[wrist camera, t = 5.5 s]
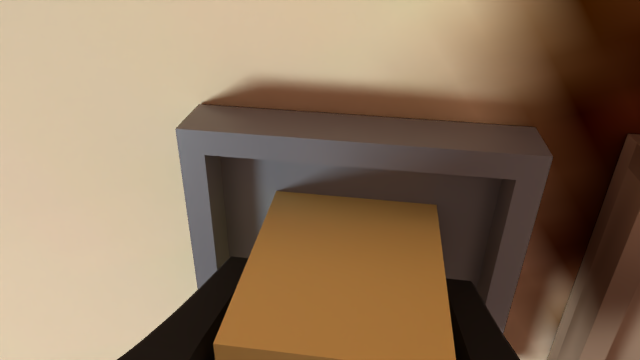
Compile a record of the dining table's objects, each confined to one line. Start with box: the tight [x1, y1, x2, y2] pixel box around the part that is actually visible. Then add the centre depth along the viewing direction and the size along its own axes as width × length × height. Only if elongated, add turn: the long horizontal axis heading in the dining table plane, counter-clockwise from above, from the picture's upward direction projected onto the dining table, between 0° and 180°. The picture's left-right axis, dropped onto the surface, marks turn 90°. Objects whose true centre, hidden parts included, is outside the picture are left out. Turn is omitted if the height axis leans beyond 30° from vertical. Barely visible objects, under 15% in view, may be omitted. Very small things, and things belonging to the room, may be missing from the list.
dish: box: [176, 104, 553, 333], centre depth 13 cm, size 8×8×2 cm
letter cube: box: [213, 191, 456, 360], centre depth 11 cm, size 4×4×5 cm
